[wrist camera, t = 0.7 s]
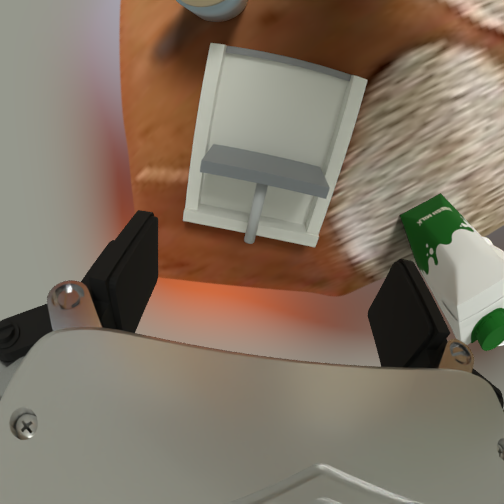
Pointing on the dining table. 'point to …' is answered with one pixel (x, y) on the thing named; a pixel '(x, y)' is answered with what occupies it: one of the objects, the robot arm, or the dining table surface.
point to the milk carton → (458, 271)
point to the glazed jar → (215, 8)
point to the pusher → (263, 176)
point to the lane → (270, 137)
